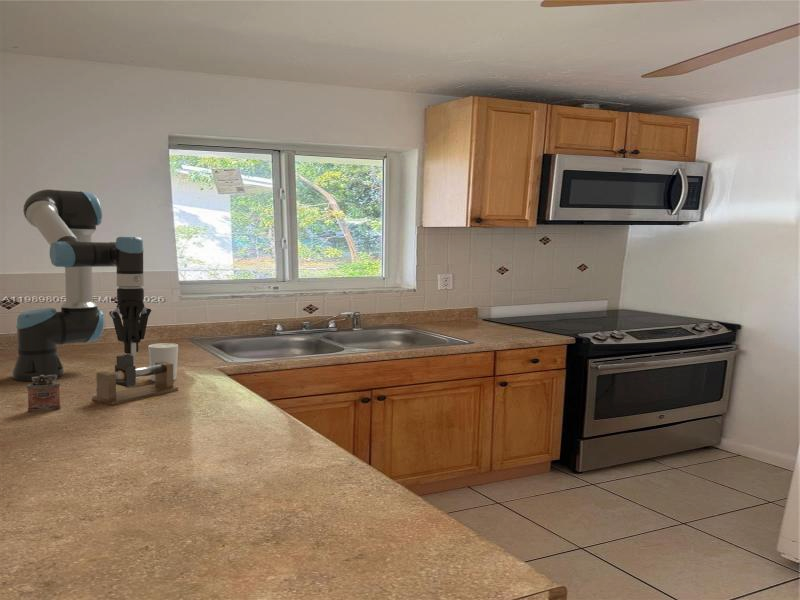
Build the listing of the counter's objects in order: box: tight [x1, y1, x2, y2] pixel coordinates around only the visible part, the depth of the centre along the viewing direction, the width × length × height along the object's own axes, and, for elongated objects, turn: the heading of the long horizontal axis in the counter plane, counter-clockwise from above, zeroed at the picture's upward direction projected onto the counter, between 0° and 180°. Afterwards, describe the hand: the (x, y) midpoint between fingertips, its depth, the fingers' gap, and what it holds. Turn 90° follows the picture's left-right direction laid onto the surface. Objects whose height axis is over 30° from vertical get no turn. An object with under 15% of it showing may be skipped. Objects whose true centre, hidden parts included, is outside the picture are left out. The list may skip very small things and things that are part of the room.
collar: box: [114, 353, 137, 388], centre depth 186 cm, size 6×3×9 cm, turn 57°
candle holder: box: [147, 342, 179, 382], centre depth 211 cm, size 10×10×12 cm
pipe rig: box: [91, 361, 179, 406], centre depth 189 cm, size 10×23×9 cm, turn 147°
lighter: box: [26, 375, 62, 413], centre depth 171 cm, size 8×3×10 cm, turn 117°
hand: (131, 363), depth 187 cm, fingers closed
